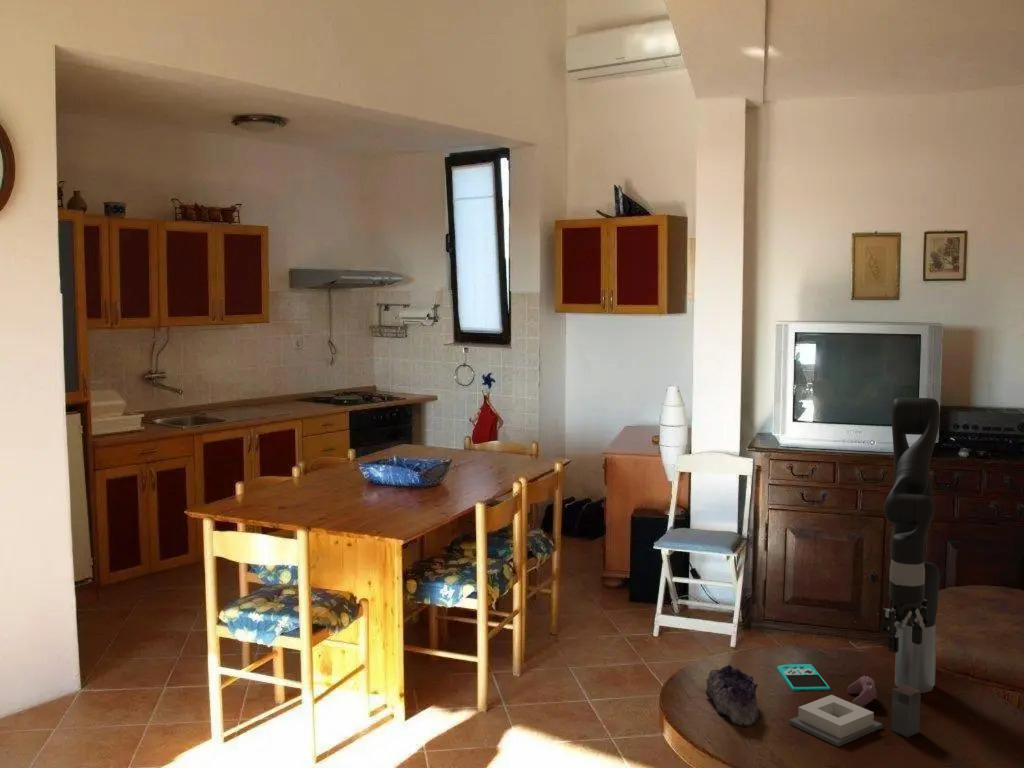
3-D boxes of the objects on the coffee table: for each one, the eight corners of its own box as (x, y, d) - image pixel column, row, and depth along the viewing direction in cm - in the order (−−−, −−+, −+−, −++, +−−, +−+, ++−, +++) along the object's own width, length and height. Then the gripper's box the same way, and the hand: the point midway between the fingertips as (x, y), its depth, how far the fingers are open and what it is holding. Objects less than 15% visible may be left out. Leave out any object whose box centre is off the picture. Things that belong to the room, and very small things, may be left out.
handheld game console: (811, 668, 267) (812, 663, 267) (831, 692, 251) (831, 687, 251) (775, 668, 267) (775, 663, 267) (792, 693, 251) (792, 688, 251)
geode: (776, 726, 232) (772, 687, 230) (729, 735, 231) (724, 696, 229) (746, 688, 252) (742, 651, 250) (703, 696, 251) (698, 659, 249)
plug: (902, 725, 231) (903, 684, 230) (919, 732, 227) (920, 690, 226) (891, 730, 229) (892, 689, 228) (907, 737, 225) (909, 695, 224)
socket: (833, 706, 241) (833, 691, 241) (882, 728, 230) (882, 711, 229) (789, 723, 233) (789, 707, 232) (838, 746, 221) (838, 729, 220)
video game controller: (867, 715, 240) (882, 692, 239) (850, 706, 240) (864, 682, 239) (861, 698, 249) (875, 676, 248) (845, 689, 250) (858, 667, 249)
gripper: (912, 570, 231) (910, 636, 233) (873, 580, 224) (871, 649, 226) (940, 578, 225) (938, 646, 227) (901, 589, 217) (899, 659, 219)
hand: (905, 647), depth 226 cm, fingers open, 8 cm apart
